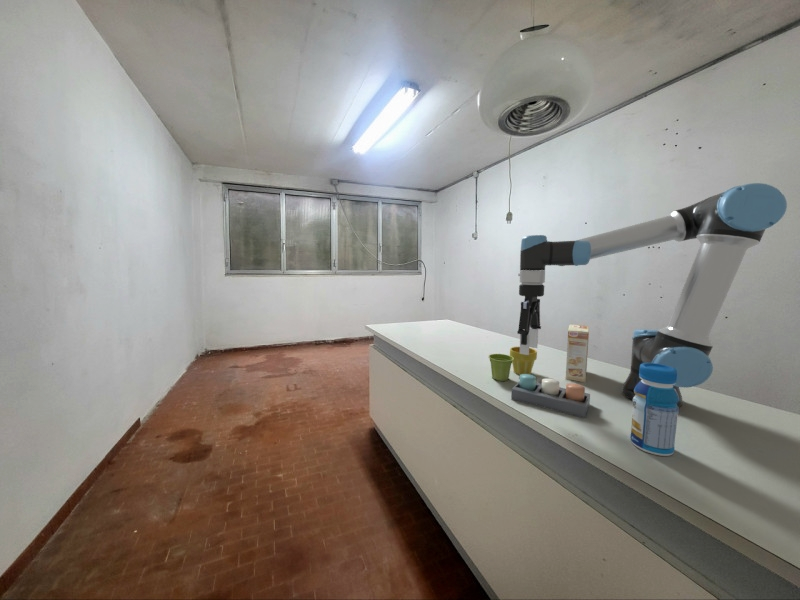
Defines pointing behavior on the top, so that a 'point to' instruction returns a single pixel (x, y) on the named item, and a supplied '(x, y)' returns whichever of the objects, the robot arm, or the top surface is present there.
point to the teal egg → (527, 382)
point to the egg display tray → (551, 400)
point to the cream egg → (550, 387)
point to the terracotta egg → (575, 392)
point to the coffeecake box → (577, 352)
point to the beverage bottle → (655, 409)
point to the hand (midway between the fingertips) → (528, 350)
